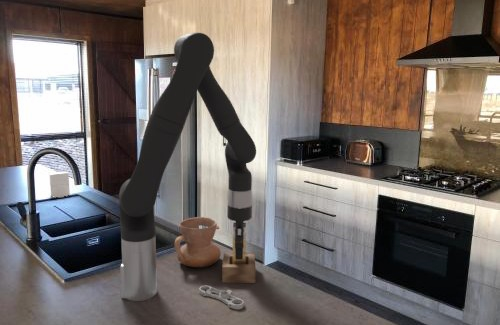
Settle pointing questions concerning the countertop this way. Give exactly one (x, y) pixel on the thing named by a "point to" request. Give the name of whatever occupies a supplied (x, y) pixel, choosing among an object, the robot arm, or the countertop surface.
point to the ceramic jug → (197, 242)
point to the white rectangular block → (59, 184)
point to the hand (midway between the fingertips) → (239, 253)
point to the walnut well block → (238, 270)
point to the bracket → (222, 296)
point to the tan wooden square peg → (242, 261)
